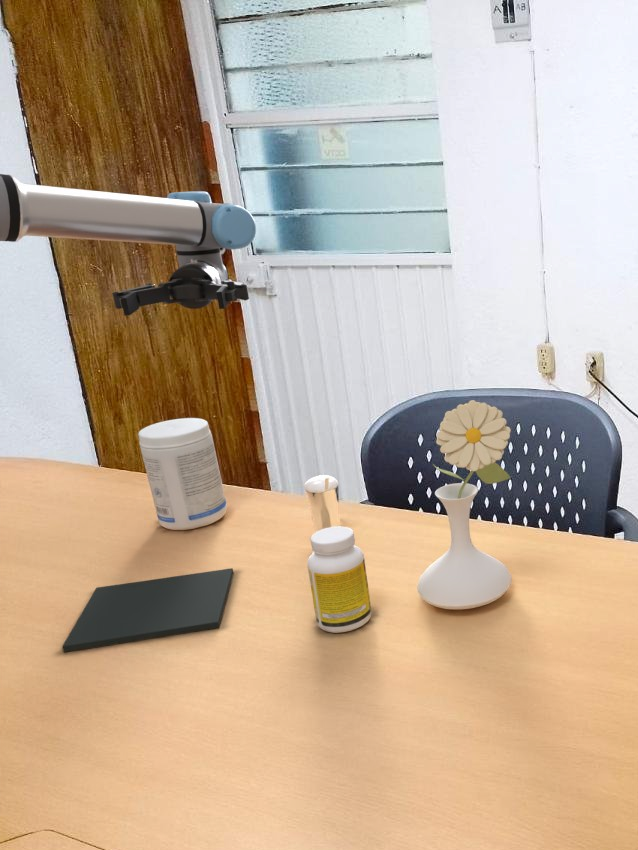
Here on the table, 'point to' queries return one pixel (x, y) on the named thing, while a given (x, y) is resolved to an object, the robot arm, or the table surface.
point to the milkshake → (323, 501)
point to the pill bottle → (338, 580)
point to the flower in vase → (467, 510)
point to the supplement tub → (183, 473)
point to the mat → (151, 609)
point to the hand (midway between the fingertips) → (173, 303)
